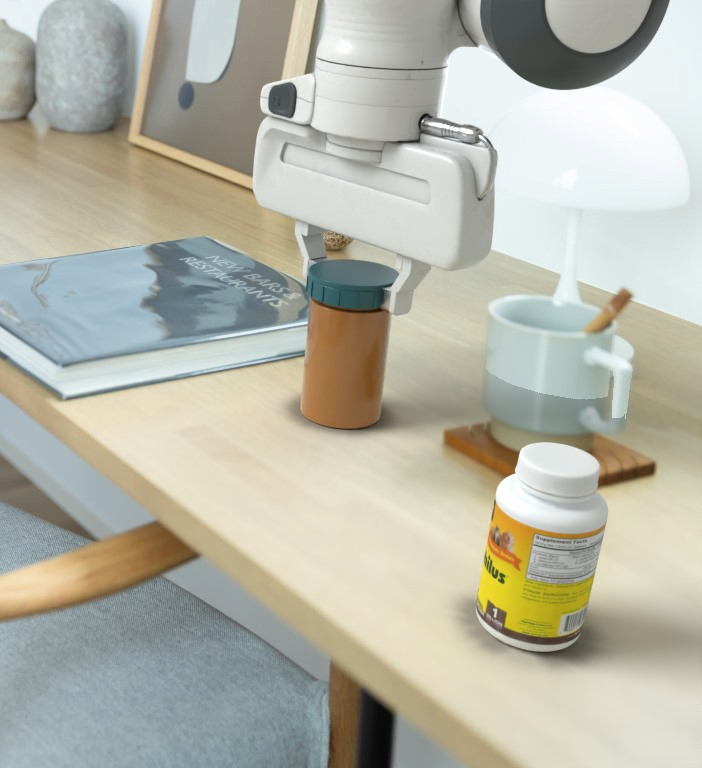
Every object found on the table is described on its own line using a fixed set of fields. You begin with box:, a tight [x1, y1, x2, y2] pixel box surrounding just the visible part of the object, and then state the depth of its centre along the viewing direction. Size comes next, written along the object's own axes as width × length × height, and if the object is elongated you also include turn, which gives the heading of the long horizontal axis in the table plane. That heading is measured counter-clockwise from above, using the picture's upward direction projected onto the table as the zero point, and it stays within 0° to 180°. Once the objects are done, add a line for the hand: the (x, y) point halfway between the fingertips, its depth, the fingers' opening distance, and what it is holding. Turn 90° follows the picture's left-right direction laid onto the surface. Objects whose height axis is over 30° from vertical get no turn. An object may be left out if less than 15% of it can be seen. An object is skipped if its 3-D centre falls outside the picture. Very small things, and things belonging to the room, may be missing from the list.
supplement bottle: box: [475, 441, 609, 653], centre depth 62 cm, size 6×6×10 cm
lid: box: [305, 258, 400, 309], centre depth 85 cm, size 7×7×2 cm
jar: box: [299, 296, 393, 430], centre depth 87 cm, size 6×6×10 cm
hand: (353, 296), depth 85 cm, fingers closed on lid, 6 cm apart
